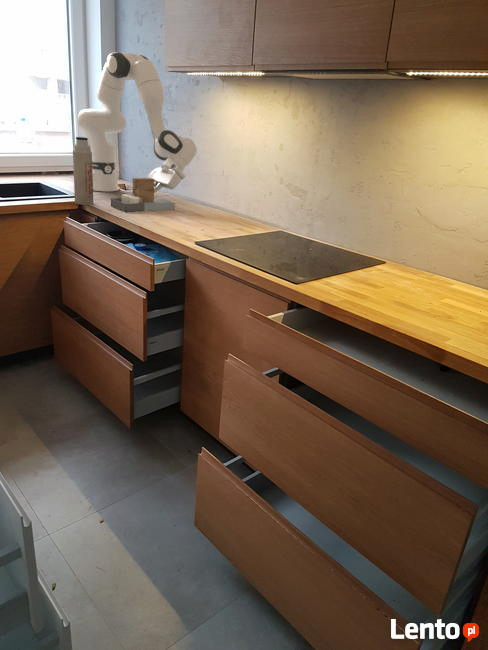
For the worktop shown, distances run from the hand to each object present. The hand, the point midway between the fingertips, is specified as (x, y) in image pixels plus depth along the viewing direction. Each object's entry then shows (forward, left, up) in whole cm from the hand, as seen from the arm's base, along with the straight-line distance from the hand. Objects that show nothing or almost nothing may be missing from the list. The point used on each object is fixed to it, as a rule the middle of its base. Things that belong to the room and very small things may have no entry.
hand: (152, 191), depth 225 cm
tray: (0, -13, -7) cm, 15 cm away
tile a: (-3, -10, -4) cm, 11 cm away
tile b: (+3, -10, -4) cm, 11 cm away
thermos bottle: (-16, -26, -8) cm, 31 cm away
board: (0, 0, -7) cm, 7 cm away
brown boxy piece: (0, -5, -4) cm, 6 cm away
